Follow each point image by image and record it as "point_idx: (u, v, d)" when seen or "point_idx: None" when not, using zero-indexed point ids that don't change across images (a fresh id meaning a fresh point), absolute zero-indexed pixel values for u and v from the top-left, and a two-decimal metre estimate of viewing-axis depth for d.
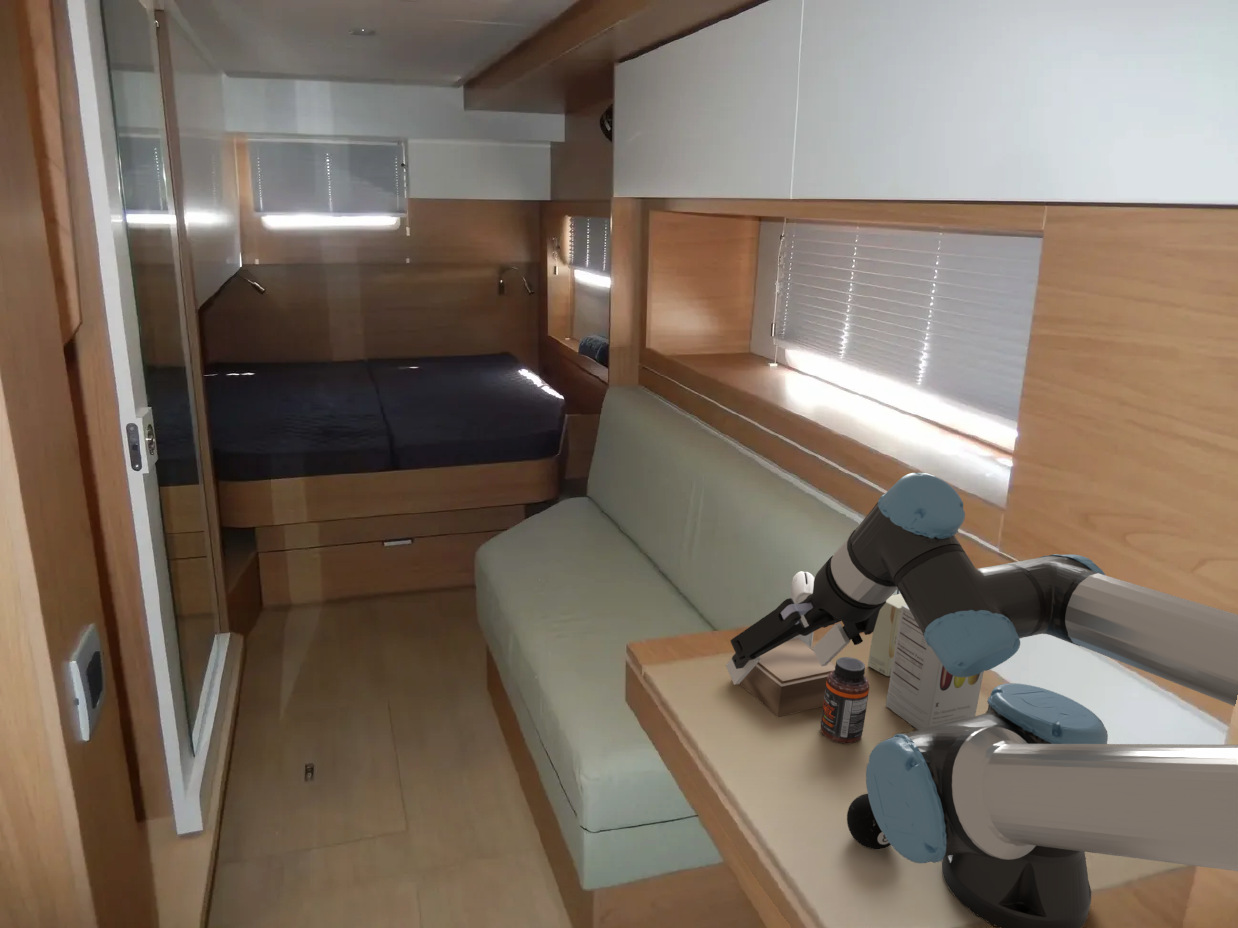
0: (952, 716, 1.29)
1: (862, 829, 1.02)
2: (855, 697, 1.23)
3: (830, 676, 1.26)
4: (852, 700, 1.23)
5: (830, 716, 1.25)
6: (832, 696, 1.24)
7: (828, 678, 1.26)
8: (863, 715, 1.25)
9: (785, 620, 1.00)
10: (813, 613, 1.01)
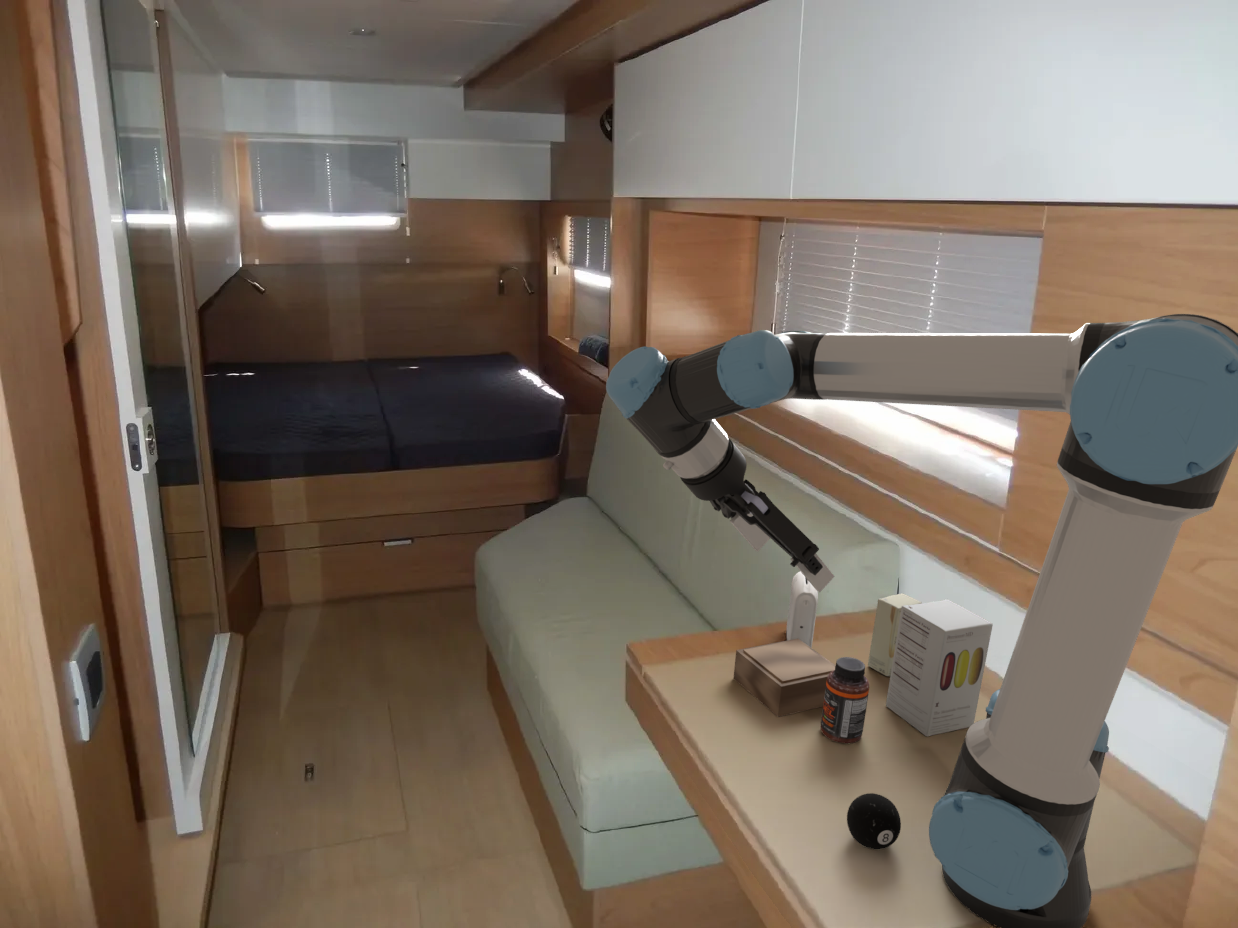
0: (952, 716, 1.29)
1: (862, 829, 1.02)
2: (855, 697, 1.23)
3: (830, 676, 1.26)
4: (852, 700, 1.23)
5: (830, 716, 1.25)
6: (832, 696, 1.24)
7: (828, 678, 1.26)
8: (864, 715, 1.25)
9: (768, 505, 1.02)
10: (749, 489, 1.04)
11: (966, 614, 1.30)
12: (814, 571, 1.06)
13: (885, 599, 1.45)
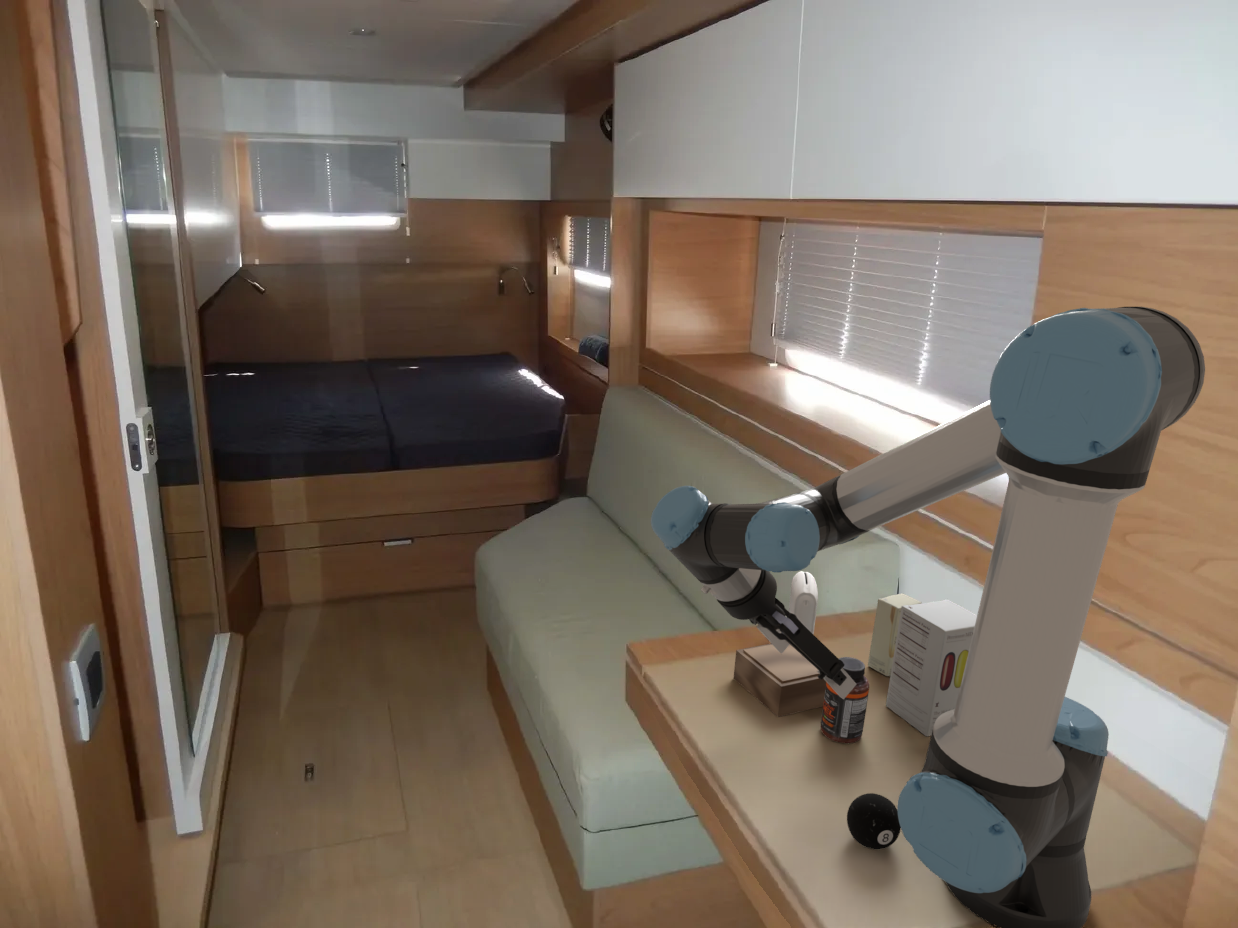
0: None
1: (862, 829, 1.02)
2: (855, 697, 1.23)
3: None
4: (852, 700, 1.23)
5: (830, 716, 1.25)
6: (832, 696, 1.24)
7: None
8: (864, 715, 1.25)
9: (798, 626, 1.11)
10: (780, 609, 1.13)
11: (966, 614, 1.30)
12: (839, 682, 1.15)
13: (885, 599, 1.45)
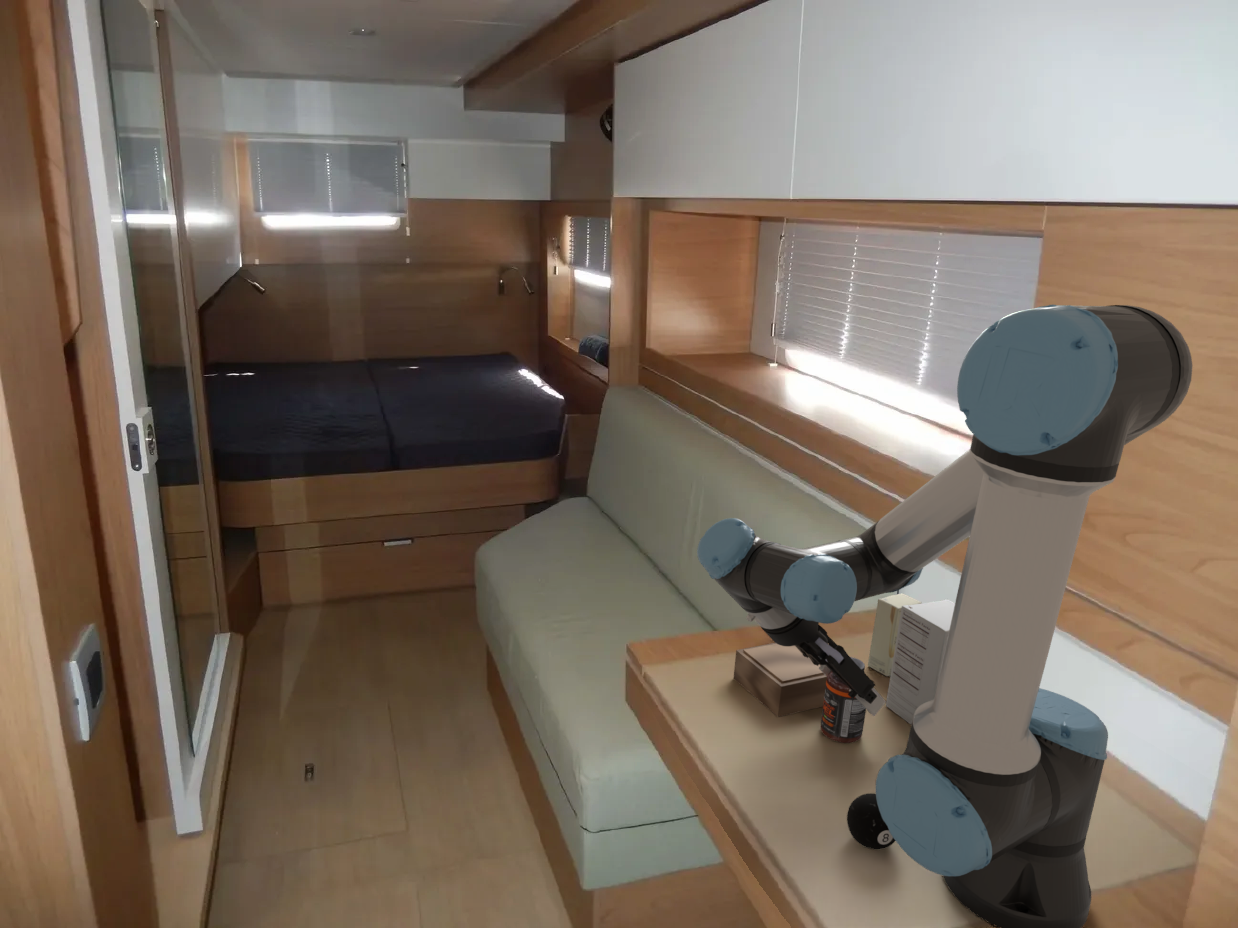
0: None
1: (862, 829, 1.02)
2: None
3: (830, 675, 1.26)
4: (852, 699, 1.23)
5: (830, 716, 1.25)
6: (832, 696, 1.24)
7: (828, 678, 1.26)
8: (863, 715, 1.25)
9: (844, 656, 1.15)
10: (825, 637, 1.16)
11: None
12: (870, 700, 1.22)
13: (885, 599, 1.45)
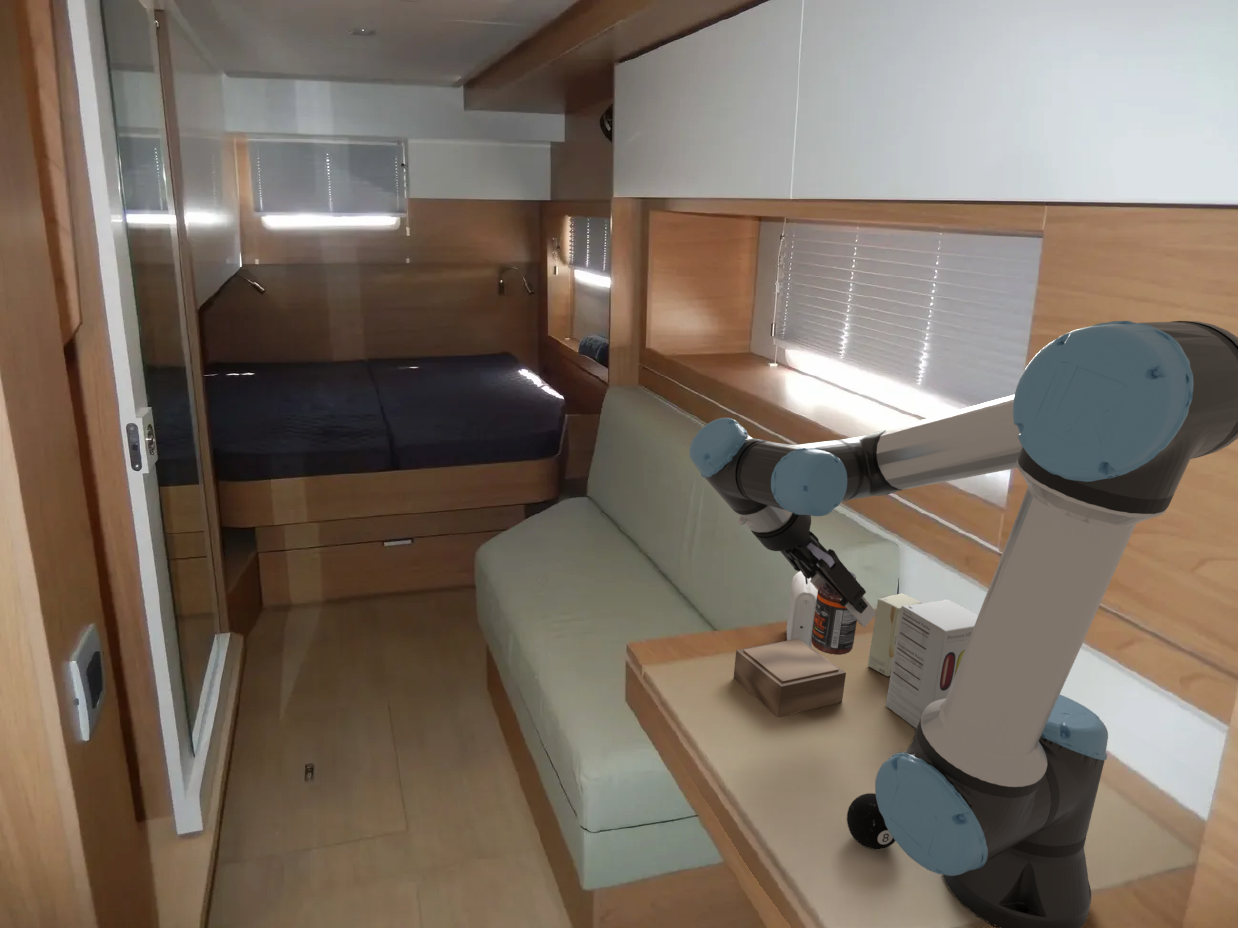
0: None
1: (862, 829, 1.02)
2: None
3: (821, 587, 1.26)
4: (843, 609, 1.23)
5: (821, 628, 1.25)
6: (823, 607, 1.25)
7: (819, 589, 1.26)
8: (854, 626, 1.25)
9: (835, 561, 1.15)
10: (816, 542, 1.16)
11: (966, 614, 1.30)
12: (860, 610, 1.22)
13: (885, 599, 1.45)
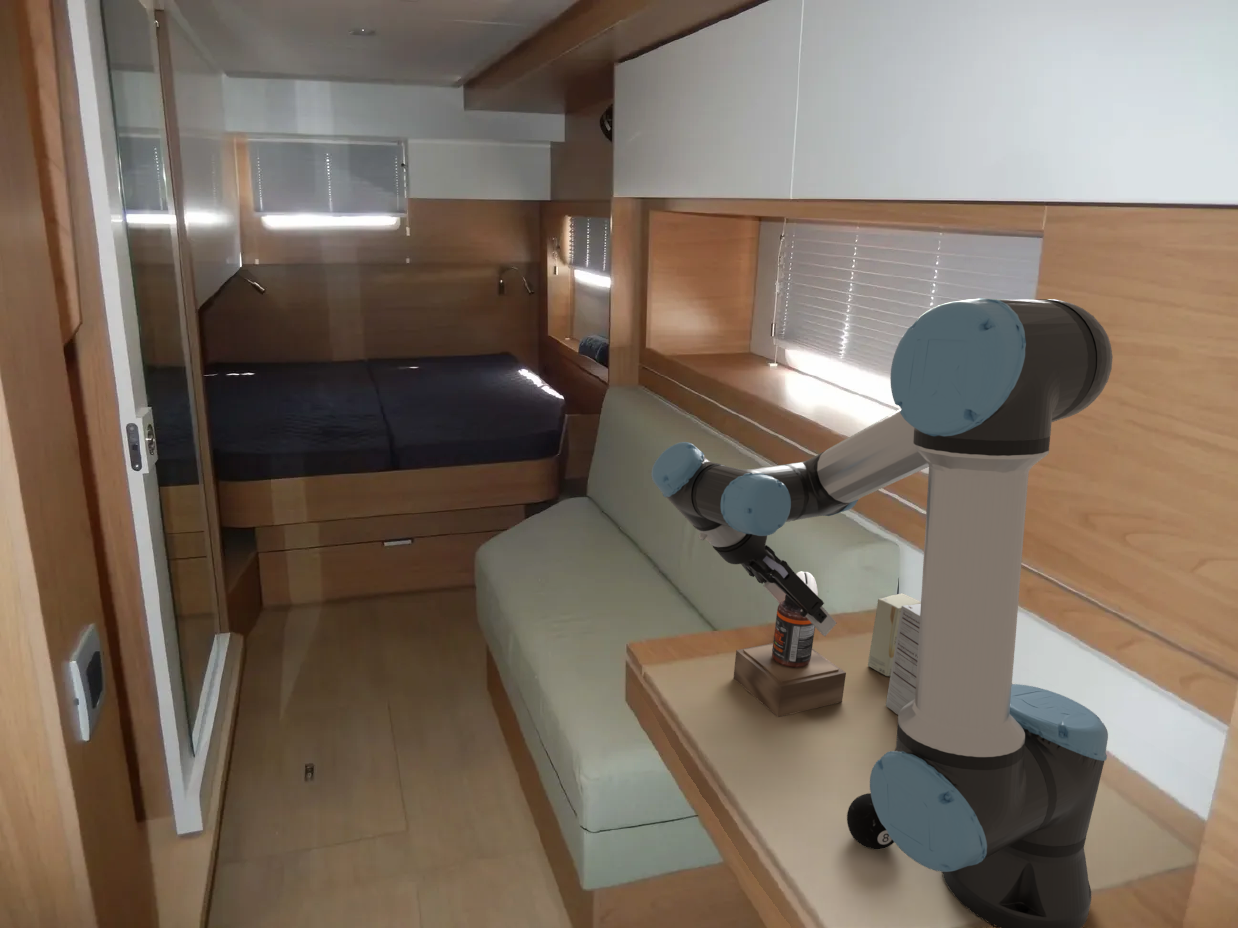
0: None
1: (862, 829, 1.02)
2: (802, 623, 1.33)
3: (780, 605, 1.35)
4: (800, 626, 1.33)
5: (780, 642, 1.35)
6: (782, 623, 1.34)
7: (778, 607, 1.35)
8: (811, 641, 1.35)
9: (788, 571, 1.24)
10: (771, 555, 1.25)
11: None
12: (820, 620, 1.30)
13: (885, 599, 1.45)
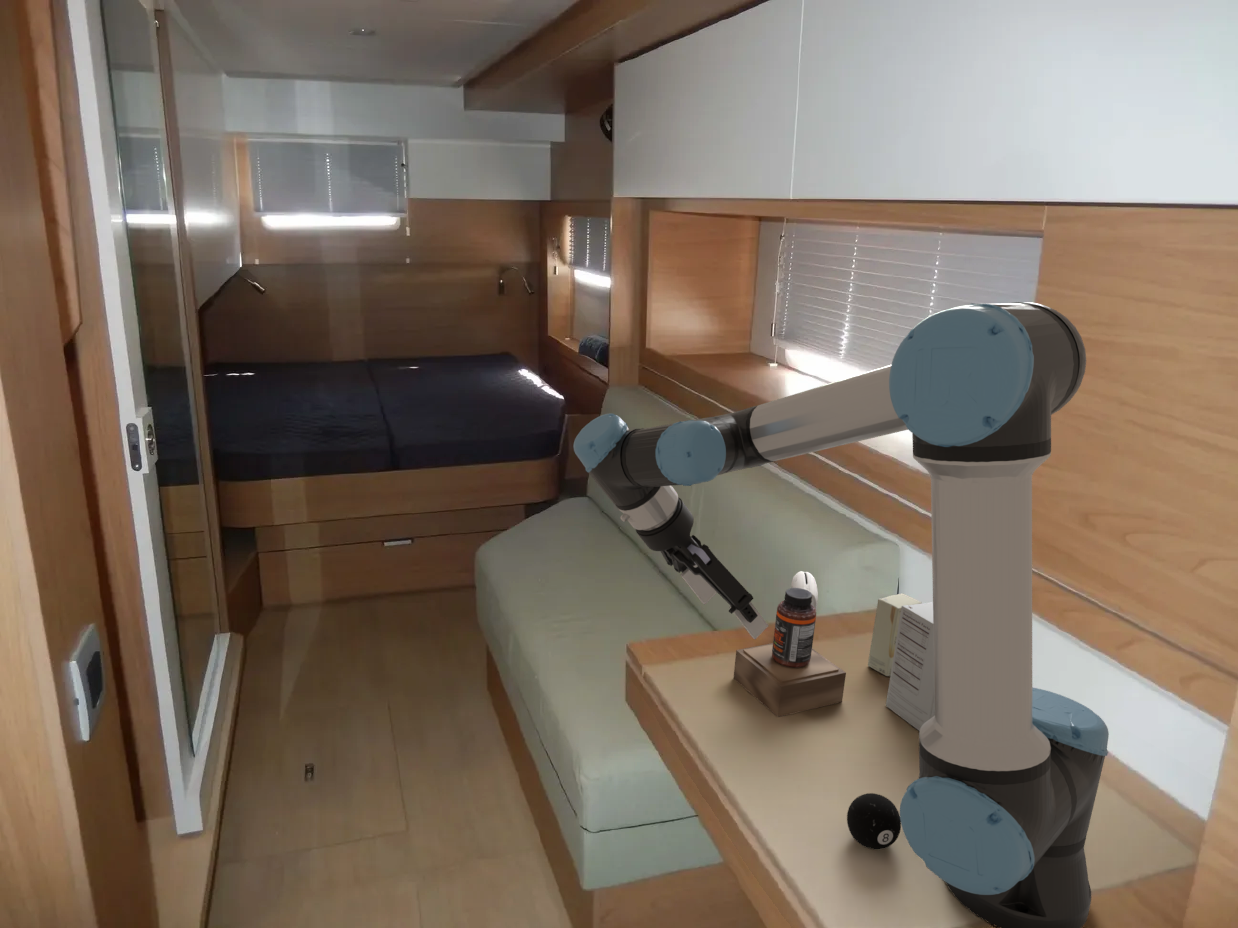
0: None
1: (862, 829, 1.02)
2: (802, 623, 1.33)
3: (780, 605, 1.35)
4: (799, 625, 1.33)
5: (779, 642, 1.35)
6: (781, 623, 1.34)
7: (778, 607, 1.35)
8: (811, 641, 1.35)
9: (710, 556, 1.17)
10: (695, 542, 1.19)
11: None
12: (749, 619, 1.20)
13: (885, 599, 1.45)
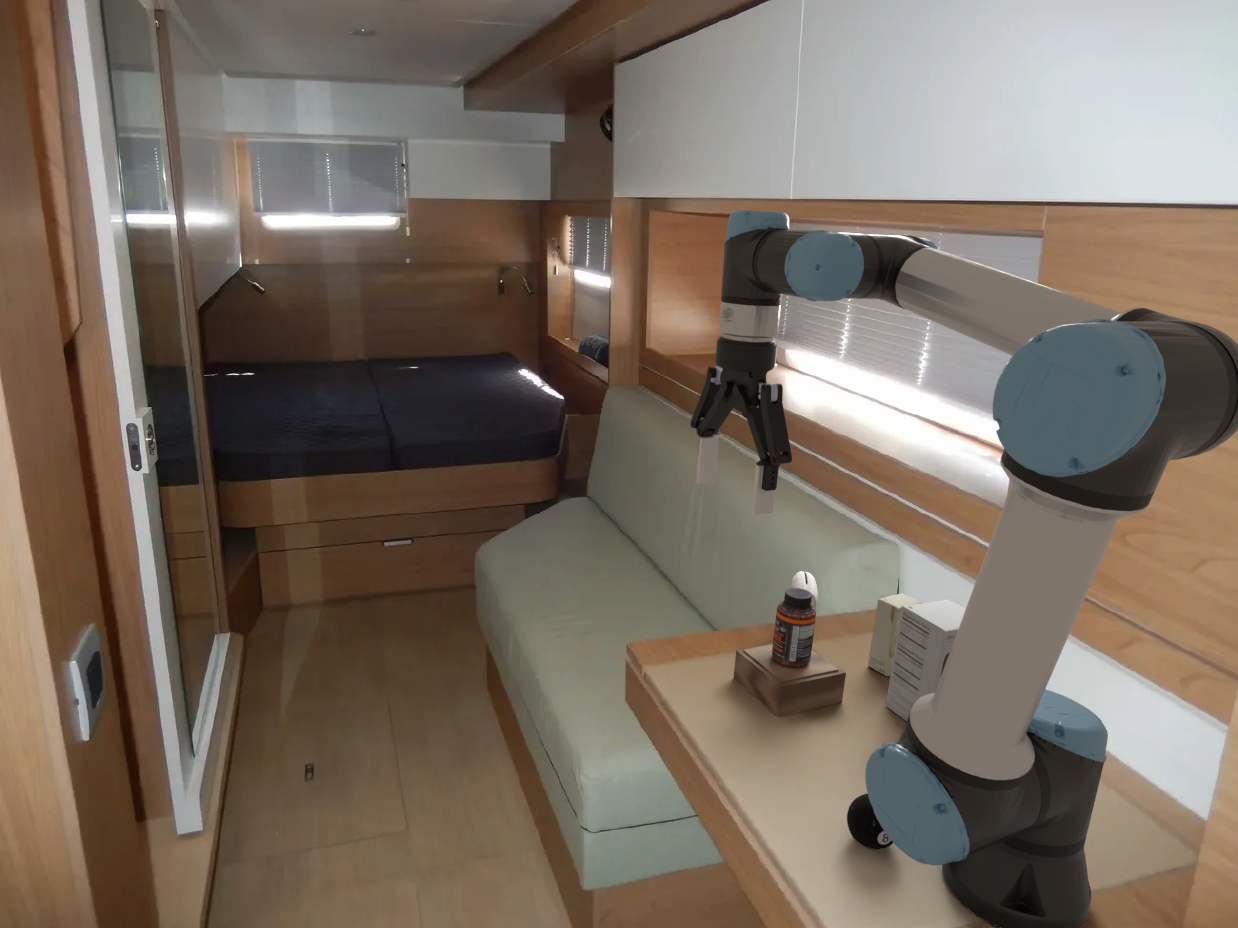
0: None
1: (862, 829, 1.02)
2: (802, 623, 1.33)
3: (779, 605, 1.35)
4: (799, 625, 1.33)
5: (779, 642, 1.35)
6: (781, 623, 1.34)
7: (778, 607, 1.35)
8: (811, 641, 1.35)
9: (778, 397, 1.09)
10: (766, 383, 1.11)
11: None
12: (768, 485, 1.10)
13: (885, 599, 1.45)
